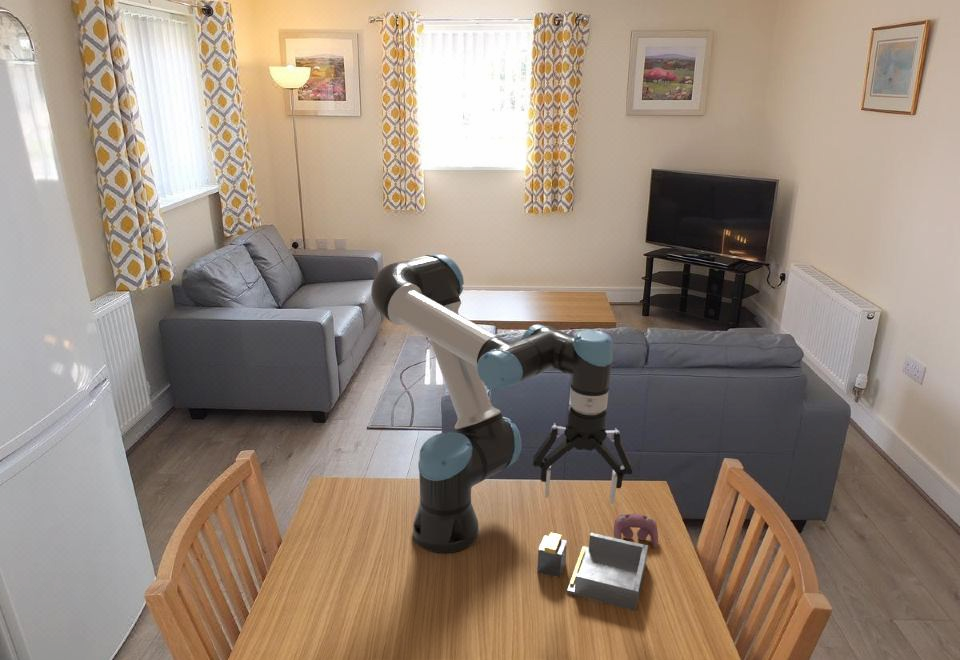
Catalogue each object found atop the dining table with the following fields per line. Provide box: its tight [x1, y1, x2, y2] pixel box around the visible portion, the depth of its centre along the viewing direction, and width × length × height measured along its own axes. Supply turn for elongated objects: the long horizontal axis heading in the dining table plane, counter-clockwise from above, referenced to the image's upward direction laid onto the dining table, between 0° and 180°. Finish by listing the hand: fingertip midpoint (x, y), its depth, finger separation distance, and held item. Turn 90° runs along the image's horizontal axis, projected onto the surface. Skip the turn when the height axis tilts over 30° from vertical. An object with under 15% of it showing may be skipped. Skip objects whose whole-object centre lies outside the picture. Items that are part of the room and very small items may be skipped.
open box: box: [566, 532, 649, 612], centre depth 145 cm, size 14×15×5 cm
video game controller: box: [613, 513, 659, 549], centre depth 157 cm, size 10×5×7 cm, turn 84°
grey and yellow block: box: [536, 532, 568, 578], centre depth 148 cm, size 5×5×7 cm
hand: (579, 496), depth 145 cm, fingers open, 13 cm apart
